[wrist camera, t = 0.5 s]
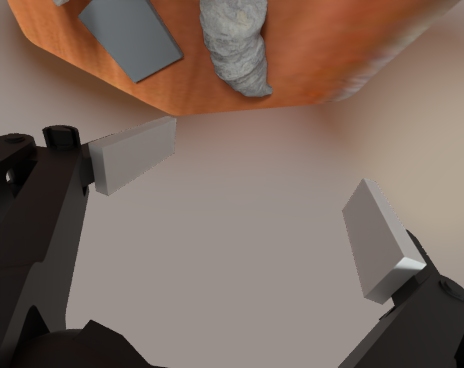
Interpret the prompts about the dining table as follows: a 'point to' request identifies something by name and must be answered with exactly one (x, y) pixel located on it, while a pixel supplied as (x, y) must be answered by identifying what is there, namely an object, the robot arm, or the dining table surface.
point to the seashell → (237, 43)
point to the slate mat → (131, 35)
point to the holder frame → (60, 2)
